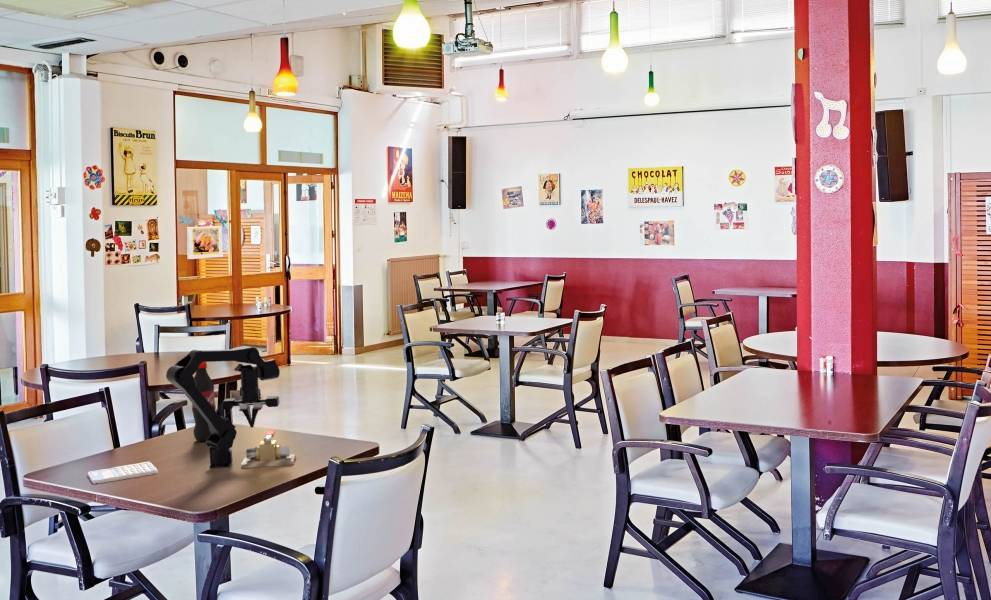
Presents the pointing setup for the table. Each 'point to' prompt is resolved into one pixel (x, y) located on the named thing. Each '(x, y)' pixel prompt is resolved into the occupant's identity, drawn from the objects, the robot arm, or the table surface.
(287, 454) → the brass valve
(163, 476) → the table surface
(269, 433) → the valve lever
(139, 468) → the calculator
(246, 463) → the mounting board
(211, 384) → the cola bottle
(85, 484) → the table surface
